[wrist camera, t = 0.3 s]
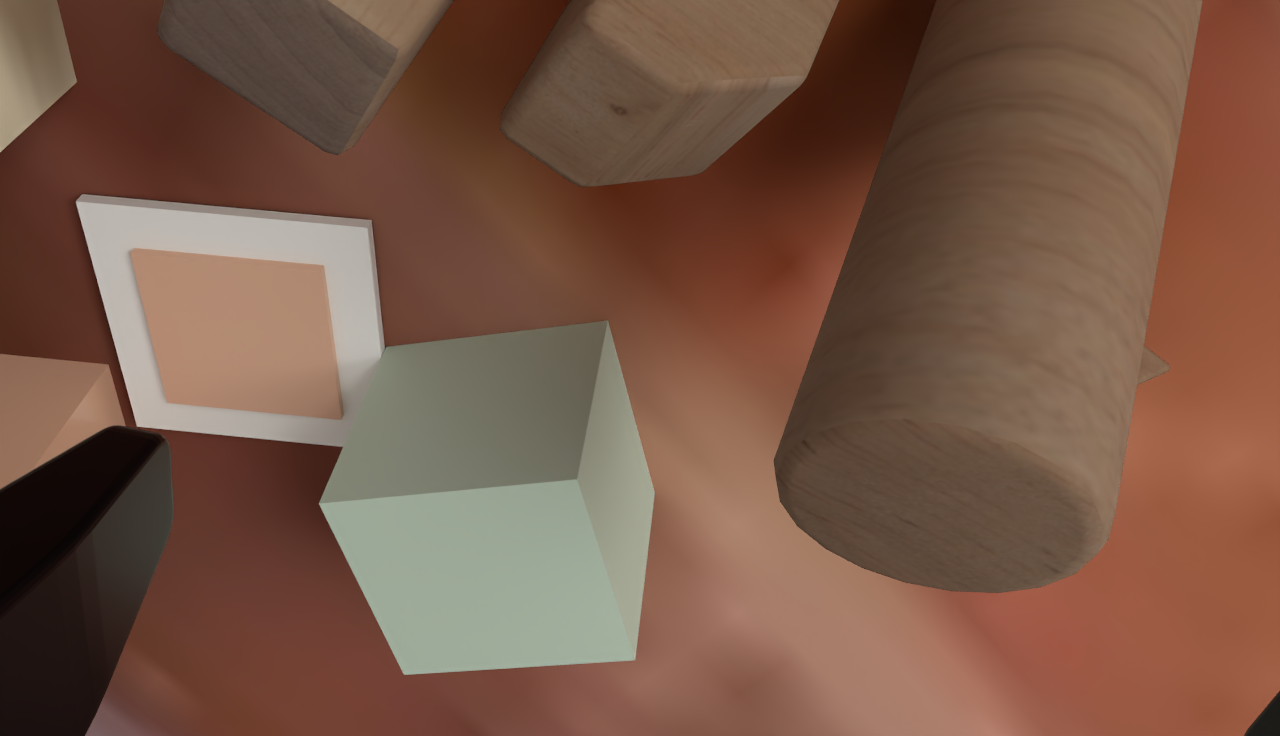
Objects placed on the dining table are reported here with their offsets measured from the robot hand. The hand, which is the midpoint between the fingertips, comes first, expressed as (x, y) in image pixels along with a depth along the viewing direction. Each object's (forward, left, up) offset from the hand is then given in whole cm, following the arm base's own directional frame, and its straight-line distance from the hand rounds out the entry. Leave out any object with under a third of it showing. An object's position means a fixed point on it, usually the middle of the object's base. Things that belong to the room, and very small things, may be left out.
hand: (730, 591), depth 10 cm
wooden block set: (-1, -1, -15) cm, 15 cm away
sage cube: (-11, +4, -14) cm, 18 cm away
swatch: (-9, +10, -14) cm, 20 cm away
